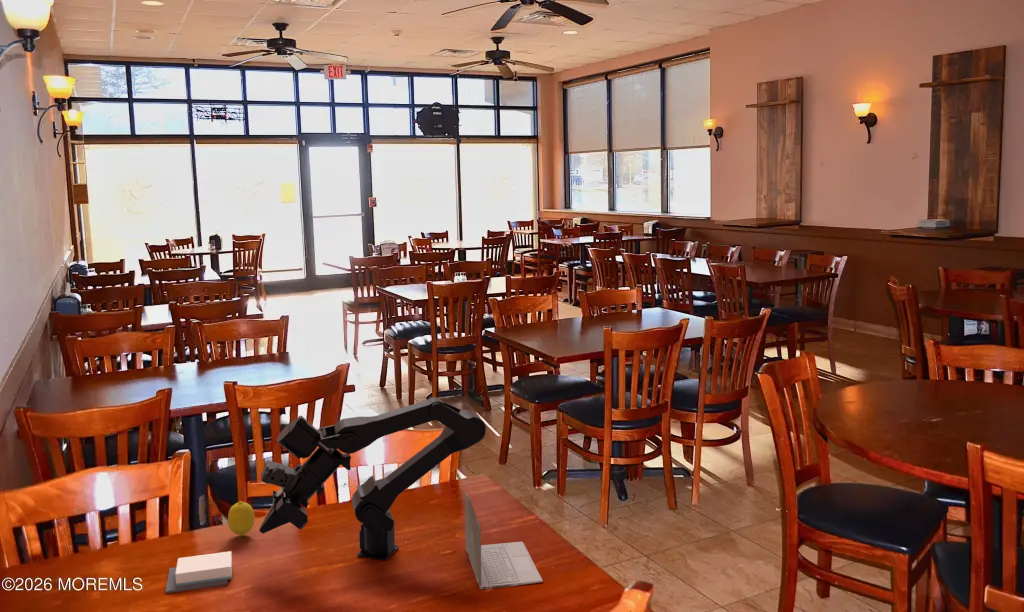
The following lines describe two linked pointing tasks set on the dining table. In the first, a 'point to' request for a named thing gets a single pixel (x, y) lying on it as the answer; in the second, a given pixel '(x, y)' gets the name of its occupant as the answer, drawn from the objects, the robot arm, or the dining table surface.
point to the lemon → (241, 518)
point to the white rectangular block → (204, 568)
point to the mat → (173, 588)
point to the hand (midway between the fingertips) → (260, 531)
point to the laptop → (497, 557)
